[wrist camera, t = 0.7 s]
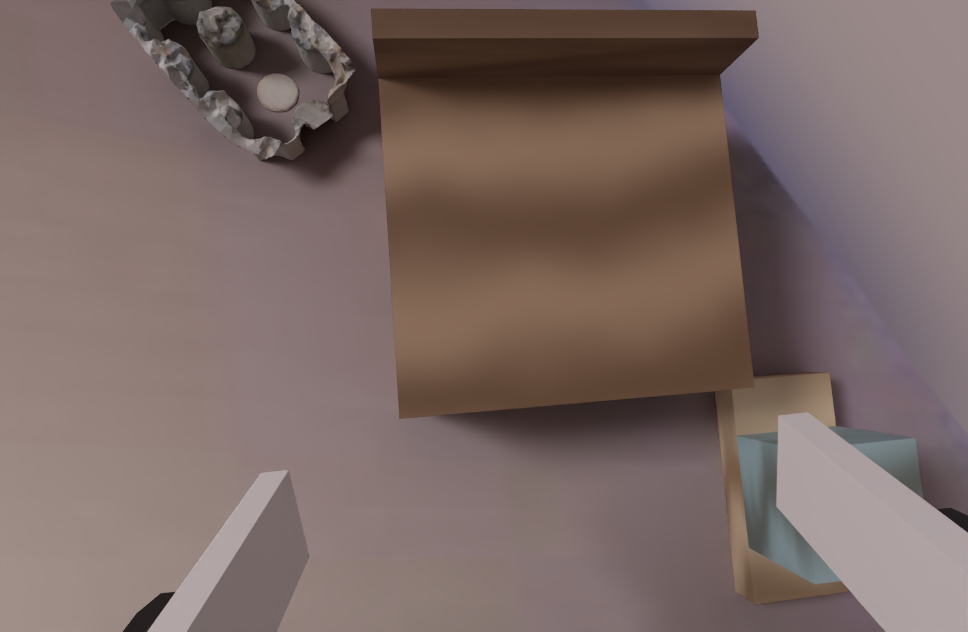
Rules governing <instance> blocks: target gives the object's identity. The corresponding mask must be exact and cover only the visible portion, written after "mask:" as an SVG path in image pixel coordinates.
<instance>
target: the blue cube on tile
mask: <svg viewBox="0 0 968 632" xmlns="http://www.w3.org/2000/svg"><path fill="white" fill-rule="evenodd" d="M754 386H755V388H745V389H734V390H722V391H715V398H716V408H717V418H718V427H719V437H720V446H721V456H722V465H723V475H724V485H725V494H726V504H727V513H728V523H729V532H730V542H731V551H732V561H733V571H734V580H735V590H736V592H738V593H739V594H740V595H742V596H743V597H744V598H746V599H747V600H749V601H750V602H751V603H753V604H754V605H758V604H765V603H772V602H779V601H786V600H794V599H801V598H808V597H815V596H822V595H829V594H836V593H843V592H850V590H849V589H848V588H847V587H846V586H845V585H844V584H843V582H842V581H841V580H840V579H839V578H838V577H837V575H836V574H835V573H834V572H833V571H832V570H831V569H830V567H829V566H828V565H827V564H826V563H825V562H824V561H823V559H822V558H821V557H820V556H819V555H818V554H817V552H816V551H815V550H814V549H813V548H812V547H811V546H810V544H809V543H808V542H807V541H806V540H805V539H804V538H803V536H802V535H801V534H800V533H799V532H798V531H797V529H796V528H795V527H794V526H793V525H792V524H791V523H790V521H789V520H788V519H787V518H786V517H785V516H784V515H783V513H782V512H781V511H780V510H779V509H778V508H777V507H776V496H777V453H778V416H779V415H788V414H797V413H806V412H808V413H809V414H811V415H812V416H813V417H815V418H816V419H817V420H819V421H820V422H821V423H823V424H824V425H825V426H826V427H828V428H829V429H830V430H832V431H833V432H834V433H836V434H837V435H838V436H840V437H841V438H842V439H844V440H845V441H846V442H848V443H849V444H850V445H852V446H853V447H854V448H856V449H857V450H858V451H860V452H861V453H862V454H864V455H865V456H866V457H868V458H869V459H870V460H872V461H873V462H874V463H876V464H877V465H878V466H880V467H881V468H882V469H884V470H885V471H886V472H888V473H889V474H890V475H892V476H893V477H894V478H896V479H897V480H898V481H900V482H901V483H902V484H904V485H905V486H906V487H908V488H909V489H910V490H912V491H913V492H914V493H916V494H917V495H918V496H920V497H921V498H922V499H923V491H922V483H921V476H920V468H919V461H918V453H917V445H916V438H912V437H906V436H899V435H893V434H886V433H879V432H873V431H866V430H859V429H853V428H846V427H840V426H836V423H835V414H834V406H833V398H832V389H831V381H830V373H826V372H802V373H790V374H778V375H766V376H754Z"/></svg>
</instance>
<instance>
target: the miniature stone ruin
mask: <svg viewBox="0 0 968 632" xmlns="http://www.w3.org/2000/svg"><path fill="white" fill-rule="evenodd" d="M251 1H252V3H253V5H254V7H255V9H256V11H257V13H258V15H259V17H260V19H261V21H262V22H263V24H265V25H266V26H267V27H269V28H271V29H273V30H276V31H283V30H288V29H291V34H292V38H293V39H294V40H295V42H296V45H297V48H298V51H299V53H300V56H301V58H302V60H303V62H304V64H305V65H306V66H307V67H308V68H309V69H310V70H312V71H314V72H316V73H321V74H324V73H331V72H333V73H334V77H335V83H334V86H333V87H332V88H331V90H330V91H329V95H328V101H327V102H328V104H326V103H325V102H321V101H317V100H314V101H308V102H305V103H303V104H301V105H299V106H298V107H297V109H296V110H295V113H294V115H293V117H292V124H293V128H294V130H295V134H296V136H295V137H294V138H293V139H292V140H291V141H289V142H288V143H284V144H283V143H282V142H281V141H280V140H276V139H274V138H272V137H266V136H264V137H263V138H260V139H253V137H254V130H253V126H252V124H251V122H250V121H249V119H248V118H247V116H246V115H245V113H244V112H243V110H242V109H241V107H240V106H239V105H238V103H236V102H235V101H234V100H233V99H232V98H231V97H229V96H228V95H227V94H226V92H225V91H224V90H220V91H209V83H208V81H207V79H206V78H205V76H204V75H203V73H202V72H201V71H200V69H199V68H198V66H197V65H196V64H195V62H194V61H193V59H192V58H191V56H190V54H189V53H188V51H187V49H186V48H184V47H183V46H182V45H180V44H179V43H176V42H173V41H172V40H170V39H168V40H166V41H165V40H164V37H163V35H162V33H161V29H162V28H163V27H165V26H166V25H167V24H168V23H170V22H172V21H179V22H180V23H183V24H186V25H197V29H198V33H199V35H200V38H201V39H202V41H203V42H204V43H205V44H206V46H207V47H208V49H209V50H210V52H211V53H212V55H213V56H214V58H215V59H216V60H217V62H218V63H220V64H221V65H222V66H225V67H227V68H232V69H241V68H243V67H245V66H247V65H249V64H250V63H251V62H252V60H253V58H254V57H255V52H256V49H255V45H254V42H253V39H252V37H251V35H250V33H249V32H248V30H247V27H246V25H245V23H244V21H243V19H242V18H241V17H240V16H239V15H238V13H237V12H236V11H234V10H233V9H232V8H230V7H214V8H212V2H211V0H114V1H112V2H111V6H112V8H113V9H114V11H115V12H116V14H117V15H118V17H119V18H120V19H121V21H122V22H123V24H124V25H125V26H126V28H127V29H128V30H129V32H130V33H131V34H132V35H133V37H134V38H135V39H136V40H137V41H138V43H139V44H140V45H141V46H142V47H143V49H144V50H145V51H146V52H147V53H148V54H149V55H150V56H151V58H152V59H153V60H154V61H155V62H156V64H157V65H158V66H159V67H160V68H162V69H163V71H164V72H165V73H166V74H167V76H168V77H169V78H170V79H171V81H172V82H173V83H174V84H175V85H176V86H177V87H178V88H179V89H180V90H181V91H182V92H183V94H184V95H185V96H186V97H187V98H188V99H189V100H190V102H191V103H192V104H193V105H194V106H195V107H196V108H197V109H198V111H199V112H200V113H201V114H202V116H203V117H204V118H205V119H206V120H207V121H208V122H209V123H210V124H211V125H212V126H213V127H214V128H216V129H217V130H218V131H219V132H220V133H221V134H222V135H223V136H224V137H226V138H227V139H228V140H229V141H231V142H232V143H234V144H236V145H237V146H239V147H242V148H244V149H246V150H248V151H250V152H251V153H252V154H253V155H254V156H255V157H256V158H257V159H258V160H260V161H262V160H264V159H267V158H270V157H272V156H281V157H284V158H287V159H289V160H294V159H295V158H296V157H298V156H299V155H300V154H302V153H303V152H304V150H305V149H304V147H303V145H302V143H301V140H300V132H301V129H302V127H303V125H305V126H307V127H309V128H311V129H313V130H314V129H315V128H317V127H319V126H320V125H321V124H323V123H324V122H326V121H327V120H328V119H332V120H334V121H336V122H337V121H338V120H340V119H341V118H342V117H343V116H344V115H346V114H347V113H348V112H349V110H348V106H347V102H346V98H345V96H344V91H345V88H346V87H347V85H348V84H347V80H348V78H349V77H350V76H351V75H352V74H353V73H354V72H355V67H354V66H351V64H352V62H351V60H350V59H349V58H348V57H347V55H346V54H345V53H344V52H343V50H342V49H341V47H340V46H339V45H338V44H337V43H336V42H335V41H334V40H333V39H332V38H331V37H330V35H329V34H328V33H327V32H326V31H325V30H324V29H323V28H322V27H321V26H320V25H319V24H317V23H315V22H314V21H313V20H312V19H311V18H310V17H309V15H308V14H307V13H306V12H305V10H304V9H303V8H302V7H301V6H300V5H299V4H297V3H296V2H295V1H294V0H251ZM257 96H258V98H259V100H260V103H261V104H262V105H263V106H264V107H265V108H266V109H268V110H270V111H273V112H285V111H288V110H290V109H291V108H293V107H294V105H295V104H296V103H297V100H298V96H299V91H298V86H297V85H296V83H295V81H294V80H293V79H291V78H290V77H289V76H287V75H284V74H280V73H274V74H270V75H267V76H265V77H264V78H263V79H262V80H261V81H260V82H259V85H258V88H257Z"/></svg>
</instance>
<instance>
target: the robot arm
mask: <svg viewBox="0 0 968 632" xmlns="http://www.w3.org/2000/svg"><path fill="white" fill-rule="evenodd" d="M776 507H777V508H778V509H779V510H780V511H781V512H782V513H783V515H784V516H785V517H786V518H787V519H788V520H789V521H790V523H791V524H792V525H793V526H794V527H795V528H796V529H797V531H798V532H799V533H800V534H801V535H802V536H803V538H804V539H805V540H806V541H807V542H808V543H809V544H810V546H811V547H812V548H813V549H814V550H815V551H816V552H817V554H818V555H819V556H820V557H821V558H822V559H823V561H824V562H825V563H826V564H827V565H828V566H829V567H830V569H831V570H832V571H833V572H834V573H835V574H836V575H837V577H838V578H839V579H840V580H841V581H842V582H843V584H844V585H845V586H846V587H847V588H848V589H849V590H850V592H851V593H852V594H853V595H854V596H855V597H856V598H857V600H858V601H859V602H860V603H861V604H862V605H863V606H864V608H865V609H866V610H867V611H868V612H869V613H870V615H871V616H872V617H873V618H874V619H875V620H876V621H877V623H878V624H879V625H880V626H881V627H882V628H883V629H884V631H885V632H968V516H967V515H965V514H963V513H961V512H959V511H956V510H954V509H952V508H946V509H936V508H934V507H933V506H932V505H930V504H929V503H928V502H926V501H925V500H924V499H922V498H921V497H920V496H918V495H917V494H916V493H914V492H913V491H912V490H910V489H909V488H908V487H906V486H905V485H904V484H902V483H901V482H900V481H898V480H897V479H896V478H894V477H893V476H892V475H890V474H889V473H888V472H886V471H885V470H884V469H882V468H881V467H880V466H878V465H877V464H876V463H874V462H873V461H872V460H870V459H869V458H868V457H866V456H865V455H864V454H862V453H861V452H860V451H858V450H857V449H856V448H854V447H853V446H852V445H850V444H849V443H848V442H846V441H845V440H844V439H842V438H841V437H840V436H838V435H837V434H836V433H834V432H833V431H832V430H830V429H829V428H828V427H826V426H825V425H824V424H823V423H821V422H820V421H819V420H817V419H816V418H815V417H813V416H812V415H811V414H809V413H808V412H806V413H797V414H788V415H779V416H778V453H777V496H776ZM308 558H309V553H308V548H307V544H306V540H305V536H304V532H303V528H302V523H301V519H300V515H299V511H298V507H297V503H296V498H295V494H294V490H293V486H292V482H291V478H290V473H289V470H284V471H275V472H266V473H261V474H260V475H259V476H258V478H257V479H256V481H255V482H254V483H253V485H252V486H251V488H250V489H249V490H248V492H247V493H246V494H245V496H244V497H243V499H242V500H241V501H240V503H239V504H238V506H237V507H236V508H235V510H234V511H233V513H232V514H231V515H230V517H229V518H228V520H227V521H226V522H225V524H224V525H223V527H222V528H221V529H220V531H219V532H218V534H217V535H216V536H215V538H214V539H213V541H212V542H211V543H210V545H209V546H208V548H207V549H206V550H205V552H204V553H203V555H202V556H201V557H200V559H199V560H198V562H197V563H196V564H195V566H194V567H193V568H192V570H191V571H190V573H189V574H188V575H187V577H186V578H185V580H184V581H183V582H182V584H181V585H180V587H179V588H178V589H177V591H176V592H170V593H161V594H159V595H158V596H157V597H156V598H155V599H153V600H152V601H151V602H150V603H149V604H147V605H146V606H145V607H144V608H143V609H141V610H140V611H139V612H138V613H137V614H136V615H135V616H134V618H133V619H132V620H131V622H130V623H129V624H128V625H127V627H126V628H125V629H124V631H123V632H276V631H277V629H278V627H279V624H280V622H281V620H282V617H283V615H284V613H285V611H286V608H287V606H288V604H289V601H290V599H291V597H292V595H293V592H294V590H295V588H296V586H297V583H298V581H299V579H300V576H301V574H302V572H303V570H304V567H305V565H306V563H307V560H308Z"/></svg>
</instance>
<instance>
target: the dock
mask: <svg viewBox="0 0 968 632" xmlns="http://www.w3.org/2000/svg"><path fill="white" fill-rule="evenodd" d="M371 18H372V34H373V44H374V51H375V58H376V65H377V73H378V82H379V98H380V114H381V130H382V146H383V162H384V178H385V194H386V210H387V226H388V241H389V257H390V273H391V289H392V305H393V321H394V337H395V353H396V369H397V385H398V401H399V417H400V419H402V418H413V417H425V416H436V415H448V414H459V413H471V412H482V411H494V410H505V409H516V408H528V407H539V406H551V405H562V404H574V403H585V402H596V401H608V400H619V399H631V398H642V397H654V396H665V395H677V394H688V393H699V392H711V391H722V390H734V389H745V388H755V386H754V377H753V368H752V359H751V350H750V341H749V332H748V323H747V314H746V305H745V296H744V287H743V278H742V269H741V260H740V251H739V242H738V233H737V224H736V215H735V206H734V197H733V188H732V179H731V170H730V161H729V152H728V143H727V134H726V124H725V115H724V106H723V97H722V89H721V79H720V74H721V73H722V72H723V71H724V70H725V69H726V68H727V67H729V66H730V65H731V64H732V63H733V62H734V61H735V60H736V59H737V58H738V57H739V56H740V55H741V54H742V53H743V52H744V51H745V50H746V49H747V48H749V47H750V45H752V44H753V43H754V42H755V41H756V40H757V39H758V38H759V36H758V27H757V19H756V11H733V10H732V11H731V10H728V11H726V10H538V9H371Z"/></svg>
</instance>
